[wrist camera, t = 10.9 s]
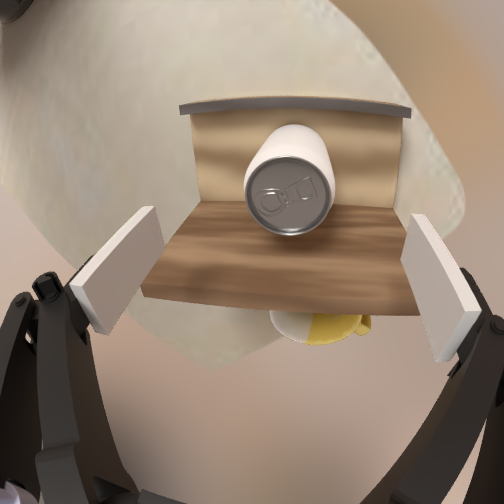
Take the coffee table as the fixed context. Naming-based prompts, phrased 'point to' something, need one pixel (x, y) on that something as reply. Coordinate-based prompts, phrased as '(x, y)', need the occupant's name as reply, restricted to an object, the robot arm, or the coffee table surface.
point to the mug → (319, 326)
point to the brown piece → (300, 246)
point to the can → (290, 182)
